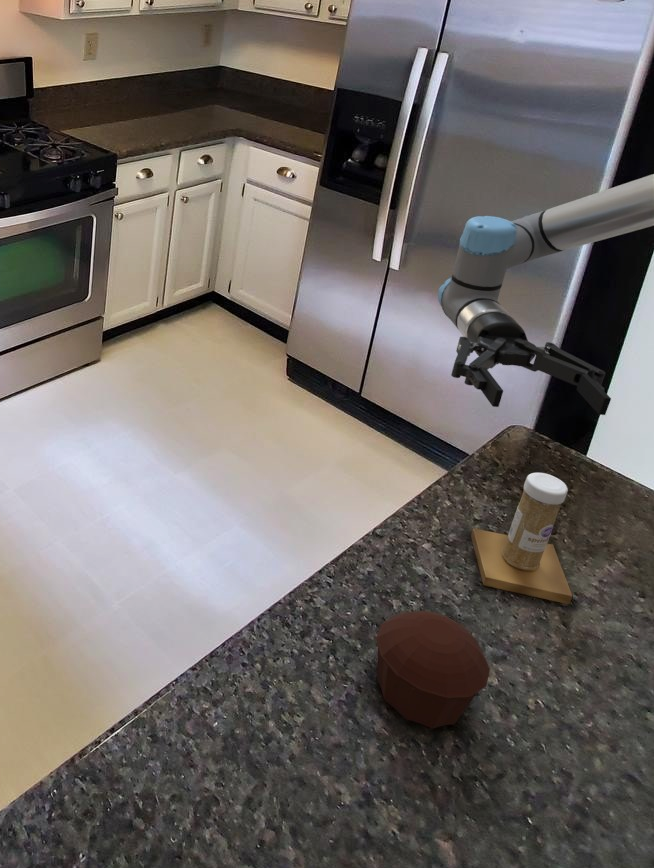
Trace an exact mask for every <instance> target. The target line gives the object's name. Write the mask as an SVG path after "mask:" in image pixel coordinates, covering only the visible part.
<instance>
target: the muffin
mask: <svg viewBox="0 0 654 868" xmlns="http://www.w3.org/2000/svg"><path fill="white" fill-rule="evenodd" d="M375 640H376V643H377V661H376V662H377V663H376V665H377V666H376V681H377V683H378V685H379V687H380V689H381V692H382V693H381V694H382V697H383V701H385V702H386V703H387V704H388V705H390V706H391V707H392V708H393V709H395V710H396V711H397V712H398V713H399V715H401V716H402V717H403V718H404V719H405V720H408V721H411V722H415V723H418V724H420V725H422V726H425V727H427V728H430V729H436V728H439V727H443V726H451V725H453V726H454V725H456V723H457V722H458V720H459V719H460V718H461V716H462V715H463V713H464V712H465V711H466V709H467V708H468V706H469V704H470V703H471V702H472V700H473V699H474V698H475V696H476V694H477V693H478V692H480V691H482V690H484V689H485V688H486V687H487V686H488V681H489V675H490V671H491V668H490V666H489V664H488V661H487V658H486V657H485V654H484V652H483V649H482V648H481V646H480V644H479V642H478V640H477V639H476V638H475V636H474V635H472V633H471V632H470V631H468V629H466V628H465V626H464V625H463V624H461V623H459V622H458V621H456V620H454V619H452V618H450V617H449V616H448V615H446V614H443V613H437V612H435V611H429V610H414V611H413V610H411V611H406V612H402V613H398V614H394V615H393V616H391V617H390V618H388V619H386V620H384V621H383V622H381V624H380V626H379V629H378V632H377V634H376V636H375Z"/></svg>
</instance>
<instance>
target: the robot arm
mask: <svg viewBox="0 0 654 868" xmlns="http://www.w3.org/2000/svg"><path fill="white" fill-rule="evenodd" d="M464 226H465V227H464V229H463V231H462V234H461V236H460V238H459V245H458V249H457V254H456V258H455V263H454V266H453V271H452V275H451V277H449V278H448V279H446V280H445V281H444V282H443V284H442V285H441V286H440V287H439V289H438V292H437V301H438V304H439V306H441V309H442V311H443V313H444V315H445V316H446V317H447V318H448V319H449V320H450V321H451V322H452V324H453V325H454V326H455V327H456V328H457V330H458V331H459V333H460V334H461V335H462V336H460V337H459V339H458V343H457V346H456V351H455V352H456V354H457V355H456V357H455V360H454V363H453V367H452V371H451V374H450V375H451V377H453V378H455V379H460V378H461V377H464V378H465V379H464V384H465V385H467V386H473V387H474V388H475V389H476V390H480V391H481V392H482V394H483V395H484V397H485V398H486V400H487V401H488V403H490V405H491V406H492V407H493V408H499V407H500V403H501V401H502V397H503V393H504V390H503V388H502V387H501V386H500V384H499V383H498V382H497V380H496V379H495V378H494V377H493V375H492V373H491V372H490V371H489V369H493V368H494V367H495V366H497V365H499V364H500V365H502V366H516V367H522V368H524V369H526V370H529V371H531V372H538V371H539V372H542V373H544V374H546V375H549V376H551V377H554V378H555V379H559V380H561V381H563V382H565V383H567V384H570V385H572V386H575V387H576V389H575V390H576V391H577V392H578V394H579V395H580V396H581V397H582V398H583V399H584V400H585V401H586V402H587V403H588V405H589V406H591V408H592V409H593V410H595V412H596V413H597V414H598V415H599V416H606V414H607V411H608V409H609V406H610V403H611V400H612V397H610V396H609V395H608V394H607V393H606V392H605V391H606V390H605V387H604V386H603V381H604V379H605V375H606V372H605V371H604V370H603V369H600V368H599V367H596V366H595V365H592V364H590V363H589V362H586V361H585V360H583V359H580V358H579V357H576V356H575V355H573V354H571V353H569V352H567V351H565V350H563V349H561V348H560V347H558V346H557V345H556V344H555V343H553V342H550V341H548V342H545V345H544V346H537V345H535V344H534V343H532V342H530V341H529V340H528V337H527V334H526V331H525V329H524V328H523V326H521V325H520V324H519V323H518V322H517V320H515V318H514V317H512V315H511V314H510V312H508V311H507V310H506V309H505V307H504V306H503V305H501V303H500V302H499V301H498V299H499V296H500V292H501V288H502V287H503V283H504V279H505V275H506V272H507V269H510V268H514V267H516V266H519V265H521V264H524V263H527V262H530V261H534V260H537V259H540V258H543V257H547V256H550V255H554V254H557V253H560V252H564V251H567V250H570V249H574V248H577V247H581V246H585V245H589V244H592V243H595V242H599V241H600V242H601V241H603V240H607V239H610V238H614V237H617V236H621V235H625V234H628V233H633V232H636V231H640V230H643V229H646V228H650V227H653V226H654V173H653V174H649V175H646V176H643V177H641V178H637V179H634V180H631V181H628V182H626V183H622V184H620V185H619V184H618V185H616V186H614V187H610V188H608V189H604V190H602V191H598V192H595V193H593V194H589V195H586V196H583V197H580V198H577V199H574V200H572V201H569V202H565V203H562V204H559V205H557V206H556V205H555V206H553V207H550V208H548V209H544V210H541V211H538V212H535V213H532V214H528V215H525V216H521V217H519V218H518V219H514V220H509V219H506V218H503V217H498V216H493V215H484V216H481V215H478V216H474V217H471V218H470V219H468V220H467V221H466V223H465V225H464ZM474 352H475V353H476V355H477V356H478V357H476V358H475V359H473V360H472V361H471V362H470V363H469V364H466V363H467V361H468V358H469V357H470V356H471V354H473V353H474ZM533 359H534V361H533ZM532 361H533V363H531V362H532Z"/></svg>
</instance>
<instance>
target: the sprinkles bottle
mask: <svg viewBox="0 0 654 868" xmlns="http://www.w3.org/2000/svg"><path fill="white" fill-rule="evenodd" d="M568 490H569V488H568V486H567V484H566V483H565V482H564V481H563V480H561V479H560V478H558V477H556V476H554V475H552V474H548V473H545V472H532V473H530V474H528V475H527V476H526V478H525V481H524V484H523V493H522V494H521V497H520V500H519V504H518V505H517V508H516V511H515V513H514V516H513V519H512V522H511V525H510V528H509V531H508V534H507V535H508V539H507V542H506V544H505V547H504V549H503V550H502V556H503V558H504V559H505V560H506V561H507V562H508V563H509V564H511V565H512V566H514V567H516V568H518V569H521V570H525V571H533V570H536V569H538V568H539V566H540V560H541V558H542V554H543V552H544V550H545V548H546V546H547V543H548V544H549V540H550V537H551V534H552V532H553V529H554V525H555V522H556V519H557V517H558V514H559V511H560V508H561V506H562V504H563V503H564V502H565V500H566V498H567V495H568V492H569V491H568Z"/></svg>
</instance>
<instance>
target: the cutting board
mask: <svg viewBox="0 0 654 868" xmlns="http://www.w3.org/2000/svg"><path fill="white" fill-rule="evenodd" d="M470 538H471V539H470V540H471V541H472V542H471V543H472V546H473V550H474V554H475V559H476V562H477V566H478V571H479V574H480V578H481V582H482V586H485V587H490V588H494V589H497V590H503V591H507V592H512V593H516V594H520V595H525V596H530V597H534V598H539V599H542V600H547V601H552V602H556V603H561V604H564V605H566V604H567V605H570V603H571V601H572V599H573V593H572V590H571V588H570V586H569V583H568V580H567V577H566V575H565V572H564V570H563V567H562V565H561V562H560V559H559V557H558V554H557V551H556V549H555V546H554V544H552V543H549V542H548V543H547V546H546V548H545V550H544V552H543V554H542V558H541V560H540V566H539V568H538V569H536V570H533V571H525V570H521V569H518V568H516V567H514V566H512V565H511V564H509V563H508V562H507V561H506V560H505V559H504V558H503V556H502V550H503V549H504V547H505V544H506V542H507V539H508V534H503V533H499V532H494V531H489V530H483V529H479V528H475V527H474V528H473V529H472V530H471V534H470Z"/></svg>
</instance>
